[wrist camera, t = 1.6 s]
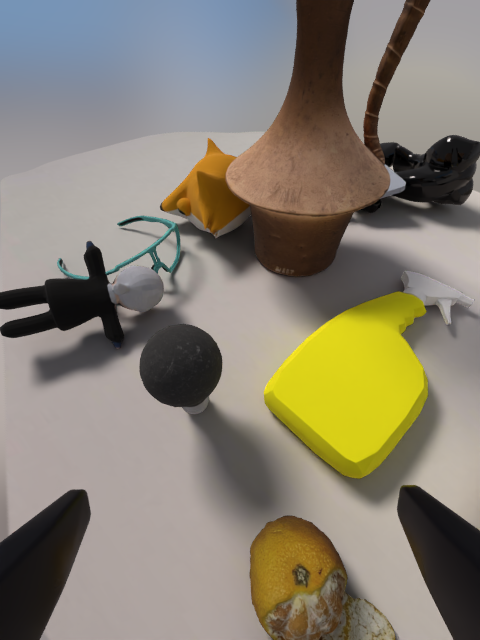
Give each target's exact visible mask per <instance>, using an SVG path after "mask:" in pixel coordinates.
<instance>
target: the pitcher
mask: <svg viewBox="0 0 480 640" xmlns="http://www.w3.org/2000/svg"><path fill="white" fill-rule="evenodd" d="M353 2H354V0H297V2H296V4H297V5H296V7H297V9H296V10H297V40H296V49H295V50H296V51H295V59H294V67H293V73H292V78H291V82H290V86H289V89H288V93H287V96H286V98H285V101H284V103H283V106H282V108H281V110H280V112H279V113H278V115H277V117H276V119H275V120H274V122H273V124H272V125H271V126H270V128H269V129H268V130H267V131H266V133H265V134H264V135H263V136H262V137H261V138H260V139H259V140H258V141H257V142H256V143H255V144H254V145H253V146H251V147H250V148H249V149H248V150H247V151H245V152H244V153H242V154H241V155H240V156H238V157H237V158H236V159H235V160H234V161H233V162H232V163H231V164H230V165H229V167H228V169H227V171H226V176H225V177H226V179H225V180H226V183H227V186H228V188H229V189H230V190H231V191H232V193H233V194H234V195H235V196H237V197H238V198H239V199H241V200H242V201H244V202H246V203H248V204H249V205H250V209H251V215H252V222H253V229H254V239H255V254H256V256H257V258H258V260H259V261H260V262H261V263H262V264H263V265H264V266H265V267H267V268H268V269H270V270H272V271H274V272H277V273H280V274H284V275H289V276H307V275H312V274H315V273H318V272H321V271H323V270H324V269H326V268H327V267H328V266H329V265H330V264H331V263H332V262H333V260H334V258H335V255H336V252H337V249H338V246H339V244H340V241H341V239H342V237H343V234H344V232H345V230H346V228H347V226H348V223H349V222H350V219H351V217H352V215H353V213H354V212H355V211H358V210H360V209H363V208H364V207H367V206H369V205H371V204H373V203H375V202H377V201H378V200H379V199H380V198H382V196H384V195H385V193H386V192H387V191H388V189H389V186H390V175H389V172H388V170H387V169H386V167H385V157H384V154H383V151H382V149H381V146H380V143H379V138H378V135H377V126H378V119H379V118H378V115H379V111H380V108H381V105H382V102H383V98H384V96H385V93H386V90H387V87H388V85H389V83H390V81H391V79H392V77H393V75H394V72H395V70H396V68H397V66H398V64H399V62H400V60H401V57H402V55H403V53H404V51H405V50H406V48H407V46H408V44H409V42H410V39H411V38H412V36H413V34H414V32H415V30H416V28H417V25H418V23H419V22H420V20H421V18H422V17H423V15H424V12H425V9H426V8H427V6H428V4H429V2H430V0H406V2H405V4H404V8H403V11H402V13H401V15H400V17H399V19H398V21H397V23H396V26H395V29H394V31H393V33H392V36H391V39H390V42H389V43H388V45H387V48H386V51H385V53H384V55H383V57H382V59H381V62H380V64H379V67H378V71H377V74H376V79H375V81H374V82H373V86H372V89H371V91H370V94H369V98H368V102H367V110H366V112H365V118H364V126H363V127H364V144H363V143H362V141H361V140H360V139H359V137H358V136H357V134H356V133H355V131H354V129H353V127H352V125H351V123H350V121H349V118H348V116H347V112H346V109H345V104H344V98H343V89H342V76H343V62H344V52H345V45H346V39H347V32H348V25H349V19H350V14H351V10H352V6H353Z"/></svg>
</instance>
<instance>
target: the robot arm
mask: <svg viewBox="0 0 480 640" xmlns="http://www.w3.org/2000/svg"><path fill="white" fill-rule="evenodd" d="M397 512H398V516H399V519H400V522H401V524H402V527H403V529H404V532H405V534H406V537H407V539H408V541H409V544H410V546H411V549H412V551H413V554H414V556H415V559H416V561H417V564H418V566H419V569H420V571H421V574H422V576H423V578H424V581H425V583H426V585H427V587H428V589H429V591H430V593H431V596H432V597H433V599H434V601H435V603H436V605H437V607H438V609H439V611H440V613H441V615H442V617H443V619H444V621H445V623H446V625H447V627H448V629H449V631H450V633H451V635H452V637H453V639H454V640H480V531H479V530H478V529H477V528H475V527H474V526H473V525H471V524H470V523H468V522H467V521H466V520H464V519H463V518H462V517H460V516H459V515H457V514H456V513H455V512H453V511H452V510H450V509H449V508H448V507H446V506H445V505H444V504H442V503H441V502H439V501H438V500H437V499H435V498H434V497H432V496H431V495H430V494H428V493H427V492H426V491H424V490H423V489H421V488H420V487H418V486H416V485H403V486H401V488H400V492H399V499H398V506H397ZM90 515H91V511H90V506H89V501H88V496H87V492H86V491H85V490H83V489H81V490H70V491H68V492H67V493H65V494H64V495H63V496H61V497H60V498H59V499H57V500H56V501H55V502H53V503H52V504H51V505H49V506H48V507H47V508H45V509H44V510H43V511H41V512H40V513H39V514H38V515H36V516H35V517H34V518H32V519H31V520H30V521H28V522H27V523H26V524H24V525H23V526H22V527H20V528H19V529H18V530H16V531H15V532H14V533H12V534H11V535H10V536H8V537H7V538H6V539H4V540H3V541H2V542H0V640H40V638H41V635H42V634H43V631H44V629H45V627H46V625H47V623H48V621H49V619H50V617H51V614H52V612H53V610H54V608H55V606H56V604H57V602H58V600H59V597H60V595H61V593H62V591H63V589H64V586H65V584H66V581H67V579H68V576H69V574H70V571H71V569H72V566H73V563H74V561H75V558H76V555H77V553H78V550H79V547H80V545H81V542H82V539H83V537H84V534H85V531H86V529H87V526H88V523H89V520H90Z"/></svg>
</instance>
